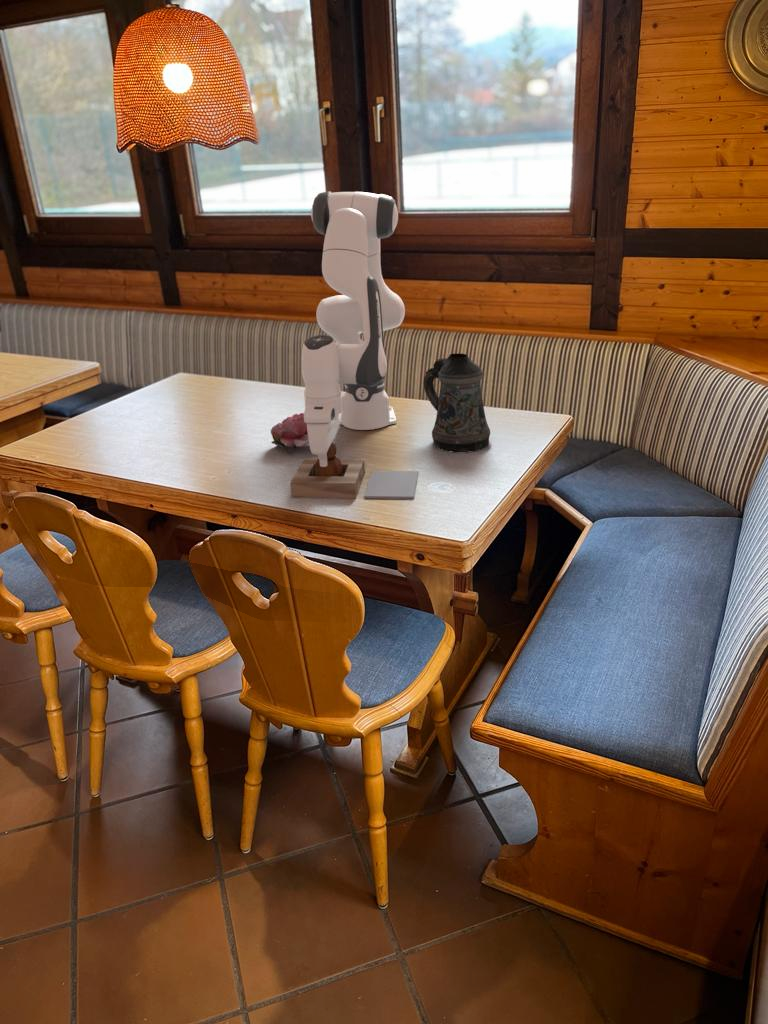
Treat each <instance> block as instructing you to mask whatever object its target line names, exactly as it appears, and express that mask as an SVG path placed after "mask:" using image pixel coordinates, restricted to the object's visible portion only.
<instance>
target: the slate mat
mask: <svg viewBox="0 0 768 1024" xmlns="http://www.w3.org/2000/svg"><path fill="white" fill-rule="evenodd" d="M418 473H420V472H419V471H418V470H372V472H371V475H370V477H369V481H368V484H367V488H366V490H365V493H364V497H363V498H364V499H379V500H380V499H383V500H384V499H385V500H386V499H388V500H389V499H390V500H395V499H396V500H404V499H405V500H406V499H407V500H414V499H415V495H416V490H417V489H416V488H417V484H418V478H419V474H418Z"/></svg>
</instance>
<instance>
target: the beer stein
mask: <svg viewBox="0 0 768 1024" xmlns="http://www.w3.org/2000/svg"><path fill="white" fill-rule="evenodd" d="M483 376H484V370H483V369H482V368H481V367H480V366H479V365H478V364H476V363H475V362H473V361H472V360H471V359H470V358H469V356H468V354H466V353H457V352H456V353H450V354H449V355H448V357H445V358H438V359H436V361H435V362H434V363H433V366H432V367H431V368H429V369H427V371H426V372H425V375H424V376H423V377H424V378H423V389H424V392H425V394H426V397H427V399H428V401H429V402H430V404H431V406H432V407H433V409H435V411H436V417H435V423H434V425H433V429H432V431H431V438H432V442H433V445H434V444H435V445H434V446H435V448H437V447H438V448H437V449H439V448H440V449H439V450H441V449H443V450H442V451H444V450H445V452H449V451H452V452H451V453H459V452H465V453H470V452H469V451H473V452H477V451H480V450H483V449H482V448H484V449H485V448H486V447H488V446H489V445H490V436H491V429H490V427H489V425H488V422H487V418H486V413H485V407H484V400H483V393H482V385H481V383H482V382H481V381H482V378H483ZM435 379H438V380H439V382H440V387H439V394H437V392H436V389H435V386H434V381H435ZM488 444H489V445H488ZM479 449H480V450H479ZM476 450H477V451H476Z"/></svg>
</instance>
